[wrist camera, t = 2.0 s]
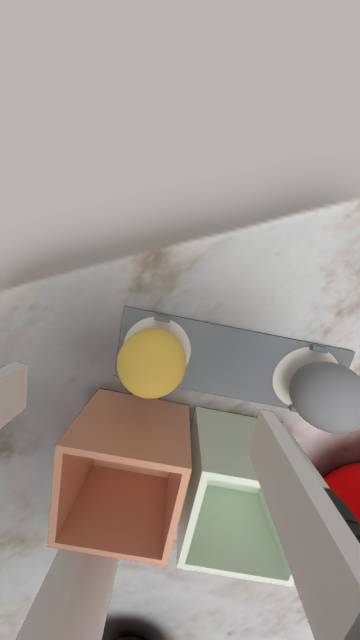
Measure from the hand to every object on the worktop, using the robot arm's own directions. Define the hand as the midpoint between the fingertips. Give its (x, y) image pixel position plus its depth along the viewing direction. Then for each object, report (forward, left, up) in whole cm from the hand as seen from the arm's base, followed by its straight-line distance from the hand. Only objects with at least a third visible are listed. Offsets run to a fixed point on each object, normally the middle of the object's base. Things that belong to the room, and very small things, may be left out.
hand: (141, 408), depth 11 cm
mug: (-3, -25, -10) cm, 27 cm away
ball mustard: (0, 0, -6) cm, 6 cm away
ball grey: (+16, 0, -6) cm, 17 cm away
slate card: (+8, 0, -10) cm, 13 cm away
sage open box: (+10, -11, -10) cm, 18 cm away
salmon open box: (-1, -11, -10) cm, 15 cm away
